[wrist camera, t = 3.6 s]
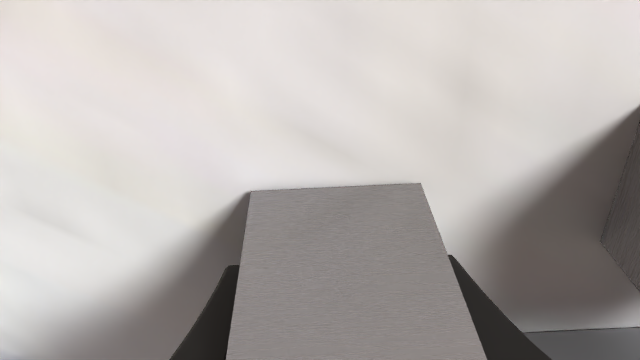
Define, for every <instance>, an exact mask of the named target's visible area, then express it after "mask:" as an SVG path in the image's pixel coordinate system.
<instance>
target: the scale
mask: <svg viewBox="0 0 640 360" xmlns="http://www.w3.org/2000/svg"><path fill="white" fill-rule="evenodd" d="M523 334H524V335H525V336H526V337H527V338H528V339H529V340H530V341H532V342H533V343H534V344H535V345H536V346H537V347H538V348H539V349H540V350H541V351H543V352H544V353H545V354H546V355H547V356H548V357H550V358H551V359H552V360H640V327H638V328H618V329H597V330H577V331H556V332H536V333H523Z"/></svg>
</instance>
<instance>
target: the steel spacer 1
mask: <svg viewBox="0 0 640 360" xmlns="http://www.w3.org/2000/svg"><path fill="white" fill-rule="evenodd" d="M226 360H487V358H486V355H485V353H484V350H483V347H482V345H481V342H480V339H479V337H478V334H477V331H476V329H475V326H474V323H473V321H472V318H471V316H470V313H469V310H468V308H467V305H466V302H465V300H464V297H463V294H462V292H461V289H460V286H459V284H458V281H457V278H456V276H455V273H454V271H453V268H452V265H451V263H450V260H449V257H448V255H447V252H446V249H445V247H444V244H443V241H442V239H441V236H440V233H439V231H438V228H437V225H436V223H435V220H434V218H433V215H432V212H431V210H430V207H429V204H428V202H427V199H426V196H425V194H424V191H423V188H422V186H421V183H416V184H395V185H374V186H353V187H331V188H310V189H289V190H268V191H251V194H250V201H249V208H248V214H247V221H246V228H245V235H244V241H243V248H242V255H241V261H240V268H239V275H238V281H237V288H236V295H235V301H234V308H233V315H232V321H231V328H230V335H229V341H228V348H227V355H226Z"/></svg>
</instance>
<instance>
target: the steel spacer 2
mask: <svg viewBox="0 0 640 360" xmlns="http://www.w3.org/2000/svg"><path fill="white" fill-rule="evenodd" d="M600 242H601V243H602V245H603V246H604V247H605V248H606V250H607V251H608V252H609V253H610V255H611V256H612V257H613V258H614V260H615V261H616V262H617V264H618V265H619V266H620V267H621V269H622V270H623V271H624V272H625V274H626V275H627V276H628V277H629V279H630V280H631V281H632V282H633V284H634V285H635V286H636V288H637V289H638V290H639V291H640V122H639V125H638V128H637V131H636V134H635V137H634V140H633V144H632V147H631V150H630V153H629V156H628V159H627V162H626V165H625V168H624V171H623V174H622V177H621V180H620V183H619V186H618V189H617V192H616V195H615V198H614V201H613V204H612V207H611V210H610V213H609V217H608V220H607V223H606V226H605V229H604V232H603V235H602V238H601V241H600Z"/></svg>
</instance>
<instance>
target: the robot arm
mask: <svg viewBox="0 0 640 360" xmlns="http://www.w3.org/2000/svg"><path fill="white" fill-rule="evenodd" d="M448 257H449V260H450V263H451V265H452V268H453V271H454V273H455V276H456V278H457V281H458V284H459V286H460V289H461V292H462V294H463V297H464V300H465V302H466V305H467V308H468V310H469V313H470V316H471V318H472V321H473V323H474V326H475V329H476V331H477V334H478V337H479V339H480V342H481V345H482V347H483V350H484V353H485V355H486V358H487V360H552V359H551V358H550V357H548V356H547V355H546V354H545V353H544V352H543V351H541V350H540V349H539V348H538V347H537V346H536V345H535V344H534V343H533V342H532V341H530V340H529V339H528V338H527V337H526V336H525V335H524V334H523V333H522V332H521V331H520V330H519V329H518V328H517V327H516V326H515V325H514V324H513V323H512V322H511V321H510V320H509V319H508V318H507V317H506V316H505V315H504V314H503V313H502V312H501V311H500V310H499V309H498V307H497V306H496V305H495V304H494V303H493V302H492V301H491V300H490V299H489V298H488V297H487V296H486V294H485V293H484V292H483V291H482V290H481V289H480V288H479V286H478V285H477V284H476V283H475V282H474V281H473V279H472V278H471V277H470V276H469V275H468V274H467V272H466V271H465V270H464V269H463V267H462V266H461V265H460V264H459V263H458V261H457V260H456V259H455V258H454V257H453V256H452V255H448ZM239 268H240V265H233V266H228V267H227V268H226V269H225V271H224V273H223V275H222V277H221V279H220V281H219V283H218V285H217V287H216V289H215V290H214V292H213V294H212V296H211V298H210V299H209V301H208V303H207V304H206V306H205V308H204V309H203V311H202V313H201V314H200V316H199V317H198V319H197V321H196V322H195V324H194V325H193V327H192V329H191V330H190V332H189V333H188V334H187V336H186V337H185V339H184V340H183V342H182V343H181V344H180V346H179V347H178V349H177V350H176V351H175V353H174V354H173V356H172V357H171V358H170V360H226V355H227V348H228V341H229V335H230V328H231V321H232V315H233V308H234V301H235V295H236V288H237V281H238V275H239Z"/></svg>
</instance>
